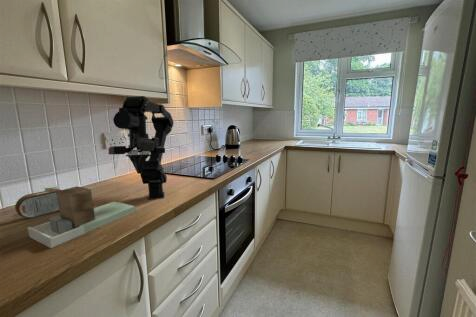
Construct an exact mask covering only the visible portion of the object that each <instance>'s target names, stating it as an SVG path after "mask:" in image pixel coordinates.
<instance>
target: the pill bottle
mask: <svg viewBox="0 0 476 317" xmlns="http://www.w3.org/2000/svg"><path fill="white" fill-rule="evenodd" d="M52 189H59V186H58V185H57V184H52V185H46V186H45V187H44V191H47V190H52Z"/></svg>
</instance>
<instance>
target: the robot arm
mask: <svg viewBox="0 0 476 317" xmlns="http://www.w3.org/2000/svg"><path fill="white" fill-rule="evenodd" d="M146 112H147V113H151V114H152V116H151V120H150V121H151V122H152V125H153V128H154V130H155V133H154V137H151V138H149V133H147V123H146V122H147V120H148V117H147V116H146ZM155 114H156V115H157V114H161V115H162V116H157V117H156V115H155ZM112 119H113V120H112V121H113V124H114V125H115V127H117V128H118V129H121V130H128V131H129V132H128V134H127V136H128V140H129V144H128V147H127V146H126V145H117V146H116V145H114V146H111V145H110V146H109V147H108V155H125V157H128V158H129V160H130V162H131V163H132V165H133V167H134V169H135V171H136V173H137V174H139V175H140V178H141V180H142V181H141V182H142V184H143V185H146V184H147V185H148V196H147V200H155V199H162V198H163V199H164V198H165V192H164V188H163V184H165V183H167V181H168V180H167V179H168V178H167V174H166V172H165V171H164V167H163V164H162V159H163V154H165V153H166V148H165V143H166V140H167V136H168V135H169V134H170V133H171V132H172V129H173V127H174V120H173V116H172V114H171V113H170V112H169V111H168V110H166V108H165V105H163V104H162V103H161V104H160V103H156V102H152V101H150V100H149V98H148V97H147V96H145V95H136V96H135V95H134V96H126V98H125V100H124V101H123V104H122V106H121V107H119V108H118V111H117V112H116V113H115V114H114V116H113V118H112ZM148 158H149V159H148Z"/></svg>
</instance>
